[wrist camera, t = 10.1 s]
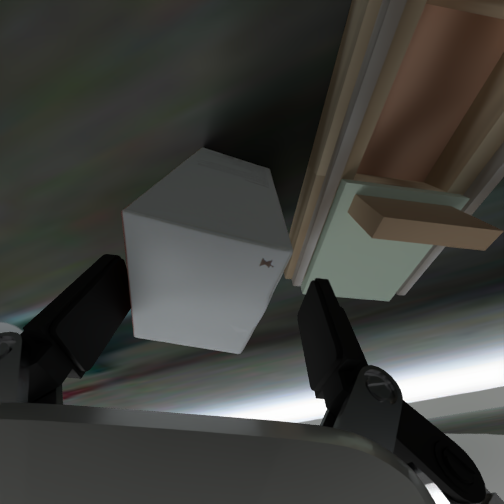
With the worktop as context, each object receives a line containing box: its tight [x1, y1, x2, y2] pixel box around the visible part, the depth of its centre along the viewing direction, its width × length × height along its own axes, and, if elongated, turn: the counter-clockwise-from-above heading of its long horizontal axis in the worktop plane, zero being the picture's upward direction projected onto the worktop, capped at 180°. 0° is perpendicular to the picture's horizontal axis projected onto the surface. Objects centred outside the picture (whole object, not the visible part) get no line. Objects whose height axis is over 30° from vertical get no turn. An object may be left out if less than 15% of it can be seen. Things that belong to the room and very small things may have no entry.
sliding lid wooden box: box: [284, 0, 504, 295], centre depth 16 cm, size 14×24×4 cm, turn 173°
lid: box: [301, 179, 503, 301], centre depth 17 cm, size 10×12×5 cm
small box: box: [121, 148, 293, 354], centre depth 14 cm, size 8×6×13 cm
